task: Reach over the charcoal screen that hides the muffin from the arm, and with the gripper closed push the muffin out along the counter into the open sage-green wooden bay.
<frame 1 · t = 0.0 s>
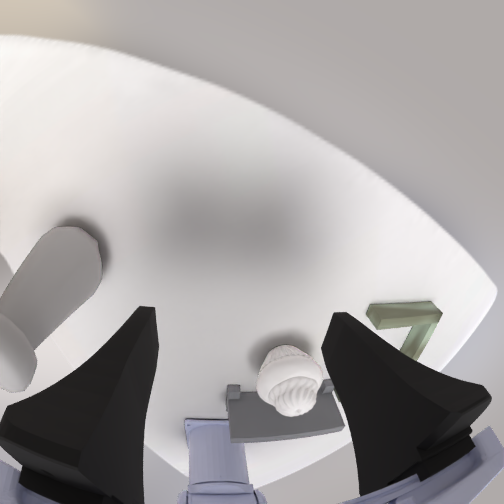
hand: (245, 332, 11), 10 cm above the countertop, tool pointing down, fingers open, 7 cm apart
screen: (279, 393, 28), on the countertop
salt shaker: (80, 250, 19), on the countertop
muffin: (282, 354, 26), on the countertop
bay: (375, 348, 27), on the countertop
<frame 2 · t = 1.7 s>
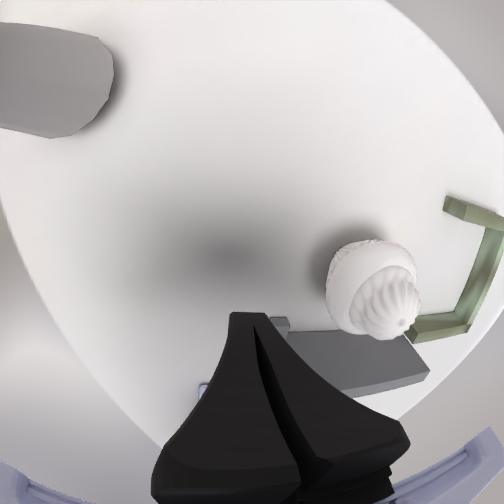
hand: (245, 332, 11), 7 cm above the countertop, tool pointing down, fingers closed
screen: (338, 335, 21), on the countertop
salt shaker: (83, 89, 11), on the countertop
muffin: (349, 262, 18), on the countertop
bay: (448, 268, 20), on the countertop
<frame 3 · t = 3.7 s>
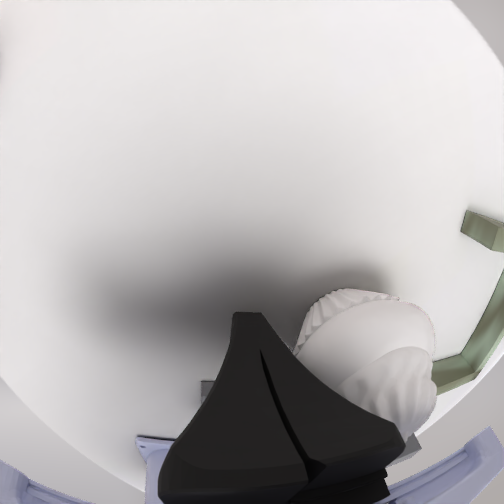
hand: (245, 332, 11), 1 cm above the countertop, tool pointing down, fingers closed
screen: (301, 399, 15), on the countertop
muffin: (334, 314, 12), on the countertop, touching gripper
bay: (460, 308, 14), on the countertop
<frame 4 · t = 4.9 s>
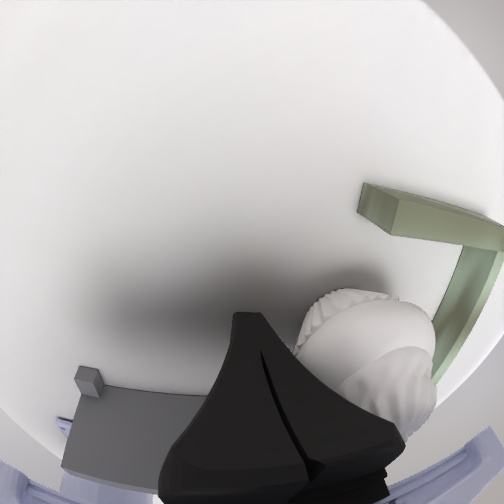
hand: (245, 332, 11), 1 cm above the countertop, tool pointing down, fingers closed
screen: (184, 400, 14), on the countertop
muffin: (334, 314, 12), on the countertop, touching gripper
bay: (384, 314, 13), on the countertop
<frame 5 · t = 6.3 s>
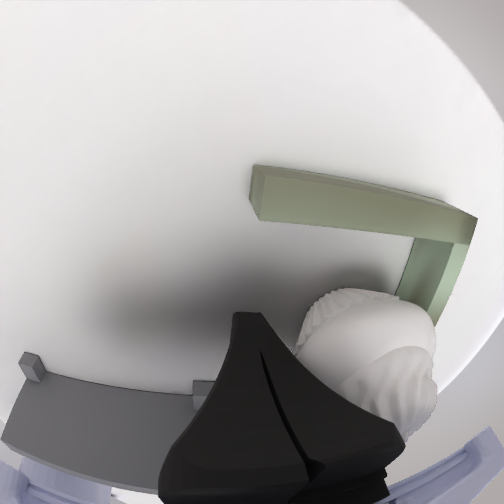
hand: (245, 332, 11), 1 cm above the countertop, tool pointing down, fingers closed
screen: (114, 392, 13), on the countertop
muffin: (334, 314, 12), on the countertop, touching gripper
bay: (310, 317, 12), on the countertop
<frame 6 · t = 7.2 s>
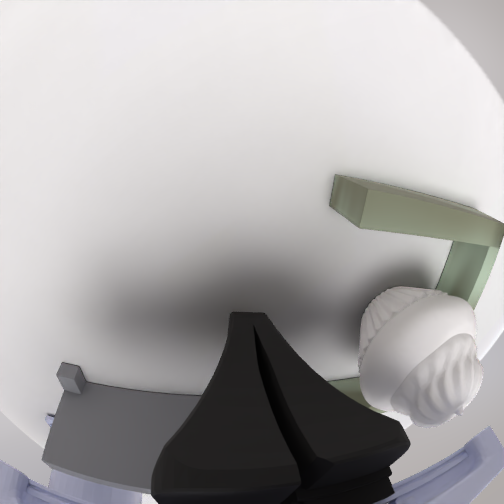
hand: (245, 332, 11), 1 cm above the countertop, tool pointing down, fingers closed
screen: (164, 399, 13), on the countertop
muffin: (385, 310, 13), on the countertop
bay: (367, 314, 12), on the countertop
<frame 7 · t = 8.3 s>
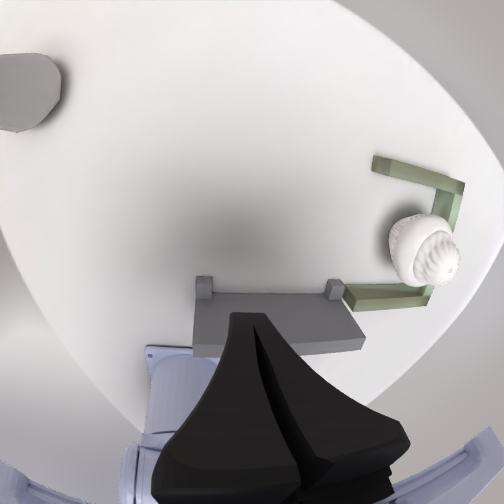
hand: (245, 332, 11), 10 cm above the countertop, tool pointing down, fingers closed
screen: (269, 299, 23), on the countertop
salt shaker: (43, 94, 13), on the countertop
muffin: (400, 234, 22), on the countertop
bay: (391, 233, 22), on the countertop
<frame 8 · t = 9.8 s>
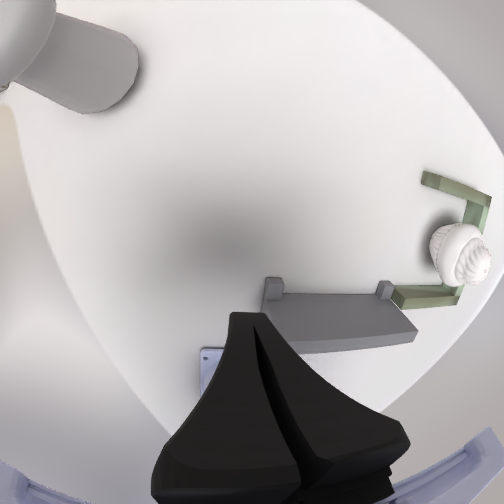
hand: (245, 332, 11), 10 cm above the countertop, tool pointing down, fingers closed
screen: (329, 299, 23), on the countertop
salt shaker: (109, 77, 14), on the countertop
muffin: (438, 240, 23), on the countertop
bay: (431, 240, 23), on the countertop
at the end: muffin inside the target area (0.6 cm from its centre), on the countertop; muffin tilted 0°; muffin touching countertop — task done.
